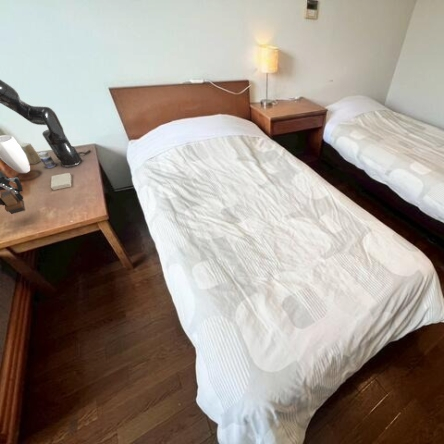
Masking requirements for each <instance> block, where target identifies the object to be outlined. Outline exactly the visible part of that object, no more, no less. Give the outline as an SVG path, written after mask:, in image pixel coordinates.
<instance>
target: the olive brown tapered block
mask: <svg viewBox="0 0 444 444" xmlns="http://www.w3.org/2000/svg"><path fill="white" fill-rule="evenodd" d="M18 144H19V143H18ZM19 145H20V146H21V148H22V150H23V151H24V153H25V154H26V157H27V159H28V161H29V165H30V164H31V165H36V164H38V163H40V162H42V161H41V159H40V156H39V155H38V153H37V151H36V149H35V148H34V146H33V144H32V143H31V142H22V143H20V144H19Z"/></svg>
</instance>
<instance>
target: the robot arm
mask: <svg viewBox="0 0 444 444" xmlns="http://www.w3.org/2000/svg"><path fill="white" fill-rule="evenodd" d="M0 104H1V105H2V106H5V107H6V108H7V109H10V110H12V111H13V112H15V113H16V114H17V115H19V116H21V117H22V118H24V120H27V121H28V122H30V123H31V124H34V125H37V126H46V127H47V129H45V130H43V132H42V137H43V138H44V140H45V141H46V143H47V144H48V146H49V147H50V149H51V150H52V152H53V154H54V155H55V157H56V158H57V161H58V162H59V163H60V165H61V167H63V168H73V167H75V166H78V165H80V164H81V162H82V158H81V156H82V155H81V154H83V155H87V154H89V153H90V152H91V150H90V149H88V150H87V151H86V152H85V151H79V152H78V151H77V150H76V148H75V146H73V145H72V144H71V142H70V141H69V139H68V137H67V135H66V133H65V132H64V127H63V125H62V124H61V121H60V120H59V118H58V116H57V114H56V112H55V111H54V110H53V108H51V107H48V106H38V105H37V106H35V105H31V104H28V103H27V102H25V101H23V100H22V99H21V97H20V95H19V93H18V92H17V90H16V89H15V88H14V87H12V86H11V85H10V84H8V83H7V82H5V81H3V80H2V79H0ZM10 182H12V184H15V185H16V187H14V186H13V185H12V184H10ZM23 189H24V188H23V186H22V184H21V180H20V178H19V177H18V176H13V177H8V176H6V175H5V174H4V173H3V172H2V170H0V191H6V190H8V191H11V192H13V193H14V195H16V197H17V198H18V199H19V200H20V201H24V195H22V192H23V191H24V190H23ZM0 206H2V207H5V203H4V201H3V200H2V199H1V197H0Z"/></svg>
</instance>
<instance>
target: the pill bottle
mask: <svg viewBox="0 0 444 444" xmlns="http://www.w3.org/2000/svg"><path fill="white" fill-rule="evenodd" d="M37 154H38V155H39V157H40V159H41V161H40V162H42V163H43V165H44V167H45V168H47V169H51V168H54V167H55V166H56V163H55V161H54V160H53V158H52V156H51V155H50V154H49V153H48V152H47V151H41V152H38V153H37Z"/></svg>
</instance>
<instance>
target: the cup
mask: <svg viewBox="0 0 444 444" xmlns="http://www.w3.org/2000/svg"><path fill="white" fill-rule="evenodd" d="M0 160H1V161H2V162H4V163H5V164H6V165H7V166H8V167H9V168H11V169H13V170H14V171H15V172H17V173H19V174H27V173H29V172H31V165H30V164H29V161H28V159H27V157H26V154H25V153H24V151H23V150H22V148H21V146H20V145H19V143H18V141H17V140H16V138H14V136H13V135H10V134H9V135H8V134H7V135H0Z"/></svg>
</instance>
